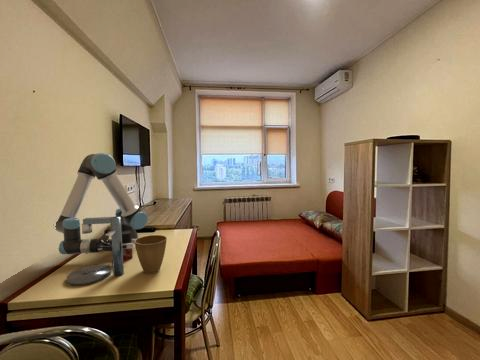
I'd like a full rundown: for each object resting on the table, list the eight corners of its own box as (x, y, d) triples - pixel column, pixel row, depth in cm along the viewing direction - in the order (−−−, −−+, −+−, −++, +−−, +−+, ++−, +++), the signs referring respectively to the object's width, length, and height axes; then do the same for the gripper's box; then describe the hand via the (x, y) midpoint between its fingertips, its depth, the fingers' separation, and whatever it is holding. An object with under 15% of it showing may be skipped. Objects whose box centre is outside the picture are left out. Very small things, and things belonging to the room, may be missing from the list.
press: (58, 280, 110) (54, 221, 108) (98, 265, 126) (95, 213, 125) (94, 295, 97) (90, 227, 95) (134, 275, 113) (131, 218, 111)
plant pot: (149, 280, 109) (147, 246, 108) (129, 272, 117) (128, 241, 115) (174, 268, 121) (173, 237, 120) (155, 262, 129) (153, 233, 128)
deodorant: (132, 255, 138) (131, 230, 137) (132, 259, 133) (131, 233, 132) (121, 257, 136) (119, 231, 135) (120, 261, 131) (119, 234, 130)
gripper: (100, 246, 142) (140, 244, 145) (82, 259, 122) (129, 256, 125) (99, 234, 141) (140, 231, 144) (81, 245, 122) (129, 242, 124)
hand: (135, 243), depth 135 cm, fingers open, 7 cm apart
